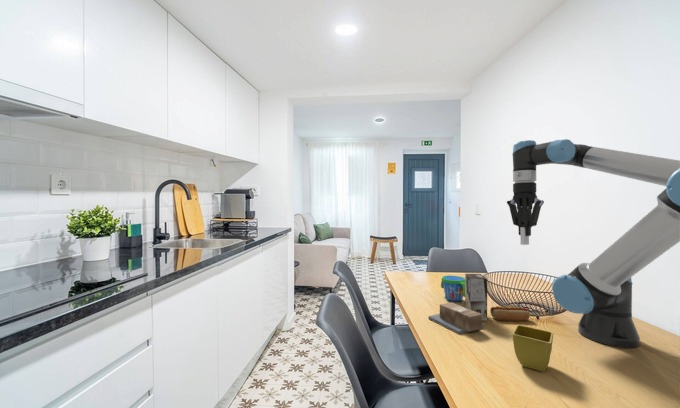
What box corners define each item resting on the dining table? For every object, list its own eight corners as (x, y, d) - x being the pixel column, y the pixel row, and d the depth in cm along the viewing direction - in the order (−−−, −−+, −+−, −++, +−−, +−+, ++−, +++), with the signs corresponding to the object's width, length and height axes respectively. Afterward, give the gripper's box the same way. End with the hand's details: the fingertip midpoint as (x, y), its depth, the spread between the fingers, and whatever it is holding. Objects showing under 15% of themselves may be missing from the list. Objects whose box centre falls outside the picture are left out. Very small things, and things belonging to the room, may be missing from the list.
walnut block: (481, 314, 102) (451, 302, 115) (469, 316, 100) (439, 304, 112) (481, 328, 102) (451, 314, 115) (469, 331, 100) (439, 317, 112)
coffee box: (488, 321, 111) (487, 279, 111) (470, 319, 113) (469, 278, 113) (481, 312, 120) (481, 273, 120) (464, 311, 121) (464, 272, 122)
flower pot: (517, 354, 87) (517, 323, 87) (553, 364, 81) (553, 331, 81) (512, 366, 80) (512, 333, 80) (551, 378, 74) (551, 343, 74)
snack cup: (434, 295, 143) (434, 274, 143) (453, 293, 146) (453, 273, 146) (453, 305, 128) (453, 282, 128) (474, 304, 131) (474, 281, 131)
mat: (483, 327, 105) (483, 325, 105) (459, 334, 100) (459, 331, 100) (451, 313, 119) (451, 311, 119) (428, 318, 114) (428, 316, 114)
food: (494, 321, 111) (494, 308, 111) (488, 316, 117) (488, 303, 117) (532, 323, 110) (532, 310, 110) (525, 317, 115) (525, 305, 115)
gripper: (501, 183, 115) (502, 242, 115) (536, 180, 103) (536, 247, 103) (514, 183, 118) (514, 241, 118) (548, 181, 107) (549, 245, 106)
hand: (524, 244), depth 111 cm, fingers closed
